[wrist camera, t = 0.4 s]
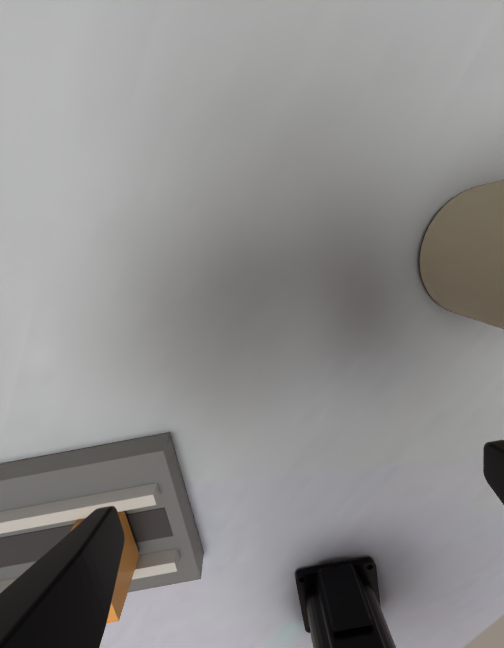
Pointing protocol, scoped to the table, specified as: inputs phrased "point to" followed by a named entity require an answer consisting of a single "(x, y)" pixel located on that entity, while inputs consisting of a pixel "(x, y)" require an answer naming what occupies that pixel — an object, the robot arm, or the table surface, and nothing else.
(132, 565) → the fader cap
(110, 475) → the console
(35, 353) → the table surface
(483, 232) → the travel mug
